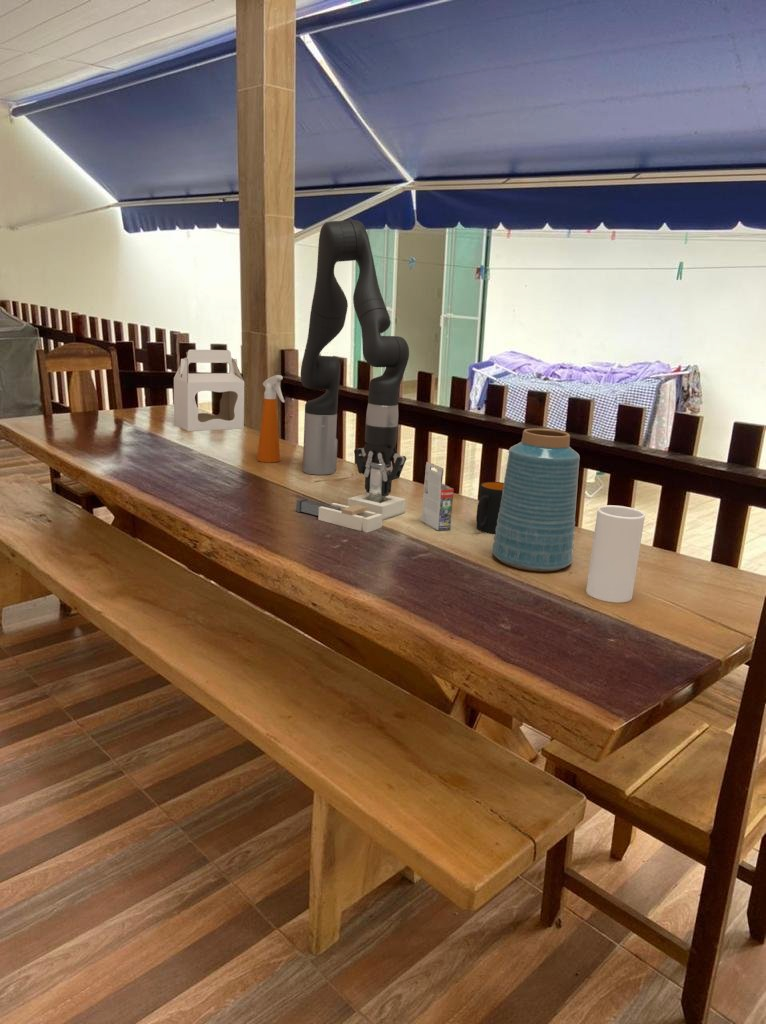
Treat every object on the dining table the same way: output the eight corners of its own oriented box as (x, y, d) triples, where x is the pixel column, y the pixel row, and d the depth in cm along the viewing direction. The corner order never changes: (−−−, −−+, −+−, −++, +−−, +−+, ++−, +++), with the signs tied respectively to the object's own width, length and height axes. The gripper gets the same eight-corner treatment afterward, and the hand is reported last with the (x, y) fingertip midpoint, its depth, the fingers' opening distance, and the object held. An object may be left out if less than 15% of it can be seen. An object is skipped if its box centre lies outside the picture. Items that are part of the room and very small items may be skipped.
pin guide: (333, 515, 184) (334, 499, 183) (381, 527, 177) (383, 510, 176) (318, 519, 179) (319, 503, 178) (367, 532, 172) (368, 515, 171)
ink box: (434, 520, 185) (439, 460, 181) (451, 530, 178) (456, 467, 174) (420, 521, 183) (425, 460, 179) (437, 531, 176) (442, 468, 172)
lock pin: (304, 508, 187) (304, 498, 186) (340, 518, 181) (340, 506, 180) (296, 511, 184) (296, 500, 184) (332, 520, 179) (332, 509, 178)
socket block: (371, 505, 195) (372, 491, 194) (404, 513, 190) (405, 499, 189) (347, 512, 187) (348, 498, 186) (381, 521, 181) (382, 506, 180)
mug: (460, 531, 178) (464, 487, 175) (488, 522, 187) (493, 480, 184) (490, 540, 173) (495, 494, 170) (518, 530, 182) (523, 487, 179)
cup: (580, 585, 148) (591, 504, 143) (621, 586, 149) (634, 506, 144) (595, 602, 140) (607, 516, 136) (639, 603, 141) (652, 518, 136)
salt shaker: (374, 499, 190) (376, 459, 188) (389, 502, 188) (392, 462, 185) (363, 502, 187) (365, 461, 184) (379, 506, 184) (381, 465, 182)
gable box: (229, 422, 299) (230, 348, 291) (244, 428, 288) (245, 352, 281) (173, 425, 286) (172, 347, 278) (187, 431, 276) (186, 351, 268)
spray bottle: (272, 466, 230) (274, 376, 223) (252, 459, 238) (254, 372, 231) (291, 464, 235) (294, 376, 228) (271, 457, 243) (274, 371, 235)
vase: (578, 557, 165) (595, 432, 158) (562, 579, 150) (580, 443, 143) (504, 543, 171) (517, 422, 164) (481, 563, 157) (494, 432, 150)
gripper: (416, 425, 182) (410, 496, 186) (366, 417, 189) (362, 486, 194) (398, 429, 175) (393, 502, 180) (347, 420, 183) (344, 491, 188)
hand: (377, 493), depth 187 cm, fingers closed on salt shaker, 4 cm apart
